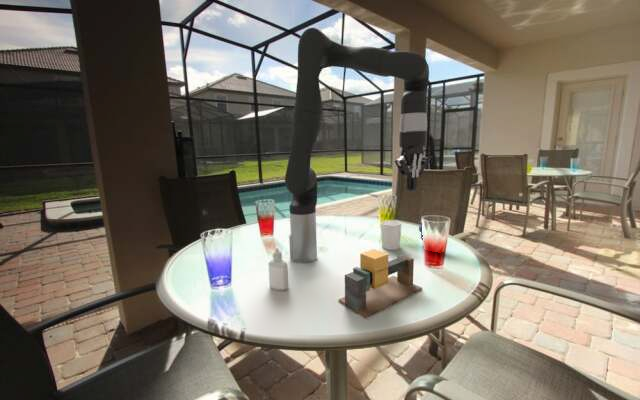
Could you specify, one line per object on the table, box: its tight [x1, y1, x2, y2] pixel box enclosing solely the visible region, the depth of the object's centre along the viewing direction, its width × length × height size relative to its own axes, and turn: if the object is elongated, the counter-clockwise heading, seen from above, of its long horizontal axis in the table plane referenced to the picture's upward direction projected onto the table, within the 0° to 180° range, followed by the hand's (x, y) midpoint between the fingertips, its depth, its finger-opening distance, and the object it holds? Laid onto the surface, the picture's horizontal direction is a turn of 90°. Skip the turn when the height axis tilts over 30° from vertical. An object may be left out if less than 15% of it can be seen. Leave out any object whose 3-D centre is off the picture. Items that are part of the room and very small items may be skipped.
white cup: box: [380, 219, 403, 251], centre depth 115 cm, size 8×8×10 cm
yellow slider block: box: [359, 249, 389, 289], centre depth 76 cm, size 5×5×8 cm
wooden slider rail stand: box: [338, 254, 423, 319], centre depth 78 cm, size 22×10×9 cm, turn 127°
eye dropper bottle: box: [268, 247, 290, 291], centre depth 84 cm, size 4×6×12 cm
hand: (411, 190), depth 87 cm, fingers closed
